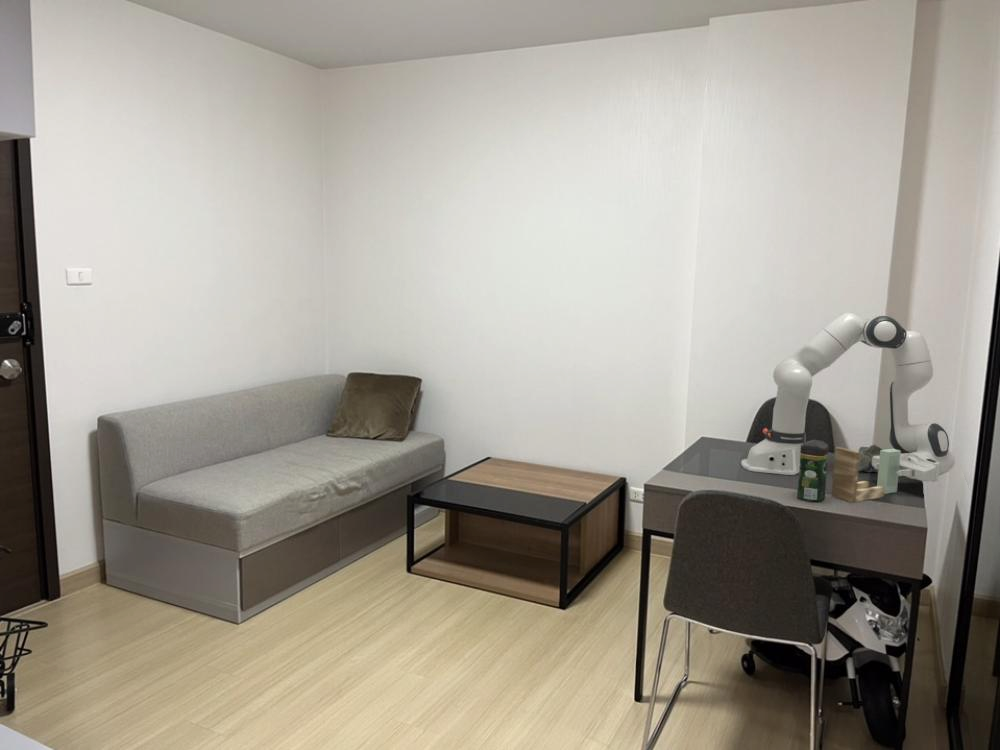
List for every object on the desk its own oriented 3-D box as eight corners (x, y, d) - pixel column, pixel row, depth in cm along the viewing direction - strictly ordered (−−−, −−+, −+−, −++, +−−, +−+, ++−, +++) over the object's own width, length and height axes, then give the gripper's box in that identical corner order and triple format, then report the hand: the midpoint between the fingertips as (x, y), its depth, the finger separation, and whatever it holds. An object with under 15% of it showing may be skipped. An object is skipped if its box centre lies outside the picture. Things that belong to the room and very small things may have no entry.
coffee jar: (801, 491, 250) (806, 436, 247) (827, 496, 245) (832, 440, 243) (793, 499, 242) (798, 442, 239) (819, 504, 238) (824, 446, 235)
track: (850, 502, 240) (855, 453, 237) (831, 495, 246) (835, 447, 244) (883, 496, 246) (888, 448, 244) (864, 490, 253) (868, 443, 250)
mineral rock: (899, 473, 275) (902, 446, 273) (889, 479, 267) (891, 451, 266) (862, 466, 284) (865, 439, 282) (851, 471, 276) (853, 444, 275)
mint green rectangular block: (884, 494, 249) (888, 452, 247) (876, 491, 252) (880, 450, 250) (896, 491, 252) (901, 450, 250) (888, 489, 254) (892, 448, 252)
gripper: (888, 449, 265) (860, 453, 259) (944, 464, 247) (915, 468, 241) (886, 467, 266) (859, 471, 260) (942, 482, 248) (913, 487, 242)
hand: (886, 469), depth 250 cm, fingers open, 6 cm apart
